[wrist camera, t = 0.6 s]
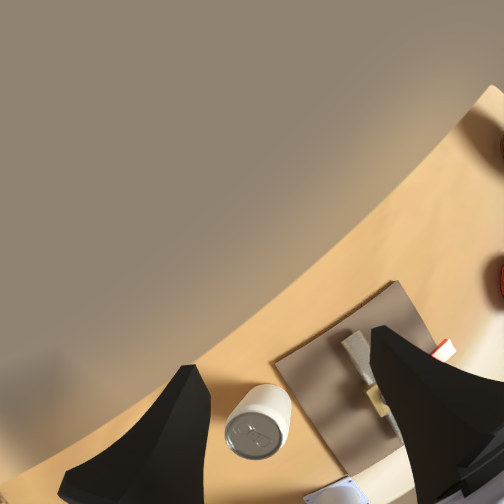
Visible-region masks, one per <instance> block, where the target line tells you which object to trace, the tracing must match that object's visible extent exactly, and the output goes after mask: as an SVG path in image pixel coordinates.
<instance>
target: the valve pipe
mask: <svg viewBox="0 0 504 504" xmlns="http://www.w3.org/2000/svg"><path fill="white" fill-rule="evenodd" d="M340 343H341V345H342V346H343V348H344V349H345V351H346V353H347V354H348V356H349V357H350V359H351V361H352V362H353V364H354V366H355V367H356V369H357V370H358V372H359V374H360V375H361V377H362V379H363V380H364V382H363V383H362V384H360V385H359V386H360V387H361V389H362V391H363V392H364V394H365V396H366V397H367V399H368V401H369V402H370V404H371V406H372V407H373V409H374V410H375V411H376V412H377V413H378V414H379V415H380V417H381V418H382V417H383V416H385V417H386V419H387V420H388V422H389V424H390V425H391V427H392V429H393V430H394V432H395V434H396V436H397V437H398V439H399V441H400V442H402V443H404V441H403V438H402V435H401V432H400V430H399V427H398V425H397V423H396V421H395V419H394V417H393V415H392V413H391V411H390V409H389V407H388V406H387V405H385V404H384V403H383V402H382V401H381V399H380V394H381V391H380V389H379V388H378V386H377V384H376V381H375V378H374V376H373V373H372V370H371V367H370V365H369V361H370V344H369V342H368V341H367V339H366V338H365V336H364V334H363V333H362V331H361V330H360V329H358V330H356V331H354V332H352V333H351V334H349V335H348V336H346V337H345V338H344V339H342V340H341V341H340Z"/></svg>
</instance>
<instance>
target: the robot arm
mask: <svg viewBox="0 0 504 504" xmlns="http://www.w3.org/2000/svg"><path fill="white" fill-rule="evenodd" d="M369 365H370V367H371V370H372V373H373V376H374V378H375V381H376V384H377V386H378V388H379V389H380V391H381V393H382V395H383V397H384V399H385V401H386V403H387V405H388V407H389V409H390V411H391V413H392V415H393V417H394V419H395V421H396V423H397V425H398V427H399V430H400V432H401V435H402V438H403V441H404V444H405V447H406V451H407V454H408V458H409V461H410V465H411V469H412V473H413V478H414V483H415V488H416V494H417V502H418V504H504V382H500V381H495V380H491V379H487V378H483V377H480V376H477V375H474V374H470V373H468V372H465V371H462V370H460V369H458V368H455V367H453V366H451V365H449V364H447V363H445V362H443V361H441V360H439V359H437V358H435V357H433V356H432V355H430V354H428V353H426V352H425V351H423V350H421V349H420V348H418V347H417V346H415V345H414V344H412V343H411V342H409V341H408V340H406V339H405V338H403V337H402V336H400V335H399V334H397V333H396V332H394V331H393V330H392V329H390V328H389V327H387V326H386V325H382V326H379V327H375V328H372V329H371V343H370V361H369ZM210 413H211V395H210V393H209V391H208V389H207V387H206V385H205V383H204V381H203V379H202V377H201V375H200V373H199V371H198V369H197V367H196V365H195V364H193V365H183V366H181V367H180V369H179V370H178V371H177V373H176V374H175V375H174V377H173V378H172V379H171V381H170V382H169V384H168V385H167V386H166V388H165V389H164V390H163V392H162V393H161V394H160V396H159V397H158V398H157V400H156V401H155V402H154V403H153V405H152V406H151V407H150V408H149V409H148V411H147V412H146V413H145V414H144V415H143V416H142V418H141V419H140V420H139V421H138V422H137V423H136V424H135V425H134V426H133V427H132V428H131V429H130V430H129V431H128V432H127V433H126V434H125V435H123V436H122V437H121V438H120V439H119V440H117V441H116V442H115V443H114V444H112V445H111V446H110V447H108V448H107V449H106V450H104V451H103V452H101V453H100V454H98V455H97V456H95V457H93V458H92V459H90V460H88V461H87V462H85V463H83V464H81V465H79V466H77V467H74V468H72V469H70V470H68V471H66V472H65V475H64V478H63V480H62V483H61V485H60V488H59V491H58V493H57V494H58V496H59V497H60V498H61V499H63V500H64V501H66V502H67V503H69V504H204V488H203V469H204V457H205V450H206V443H207V437H208V430H209V423H210ZM349 480H351V481H350V482H348V481H349ZM303 500H304V501H305V503H306V504H367V503H368V504H371V503H370V502H369V500H368V499H367V498H366V496H365V495H364V494H363V492H362V491H361V490H360V488H359V487H358V486H357V484H356V483H355V481H354V480H353V479H352V477H350V476H348V477H345V478H343V479H342V480H340V481H337V482H335V483H333V484H331V485H329V486H327V487H325V488H323V489H320V490H318V491H316V492H313V493H311V494H309V495H306V496H304V497H303ZM307 500H308V501H307Z"/></svg>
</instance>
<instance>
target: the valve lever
mask: <svg viewBox="0 0 504 504" xmlns="http://www.w3.org/2000/svg"><path fill="white" fill-rule="evenodd" d="M454 352H455V350H454V348H453V346H452V344H451V342H450V340H449V339H444V340H443V341H442V342H441V343H440V344H439V345H438V346H437V347H436V348H435V349H434V350H433V351H432V352H430V353H429V354H430V355H432V356H433V357H435V358H437V359H439V360H441V361H443V362H445V361H446V360H447V359H448V358H449V357H450V356H451V355H452V354H453V353H454ZM380 399H381V401H382V402H383V403H384V404H385V405H387V403H386V401H385V399H384V397H383V395H382V393H381V394H380ZM387 406H388V405H387Z"/></svg>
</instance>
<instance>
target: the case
mask: <svg viewBox="0 0 504 504" xmlns="http://www.w3.org/2000/svg"><path fill="white" fill-rule="evenodd" d="M501 151H502V154H503V157H504V136H503V138H502V141H501Z"/></svg>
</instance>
